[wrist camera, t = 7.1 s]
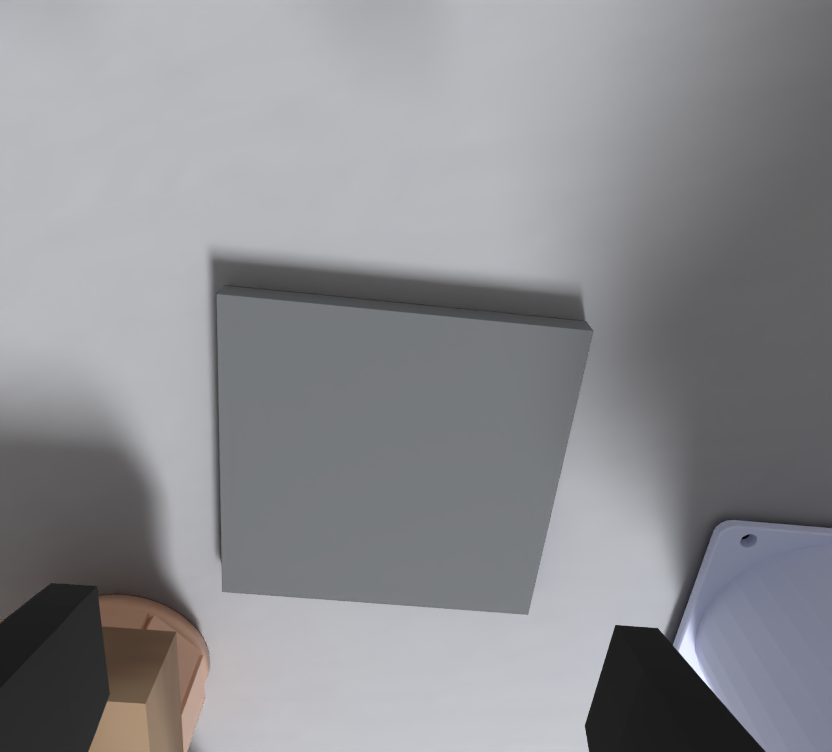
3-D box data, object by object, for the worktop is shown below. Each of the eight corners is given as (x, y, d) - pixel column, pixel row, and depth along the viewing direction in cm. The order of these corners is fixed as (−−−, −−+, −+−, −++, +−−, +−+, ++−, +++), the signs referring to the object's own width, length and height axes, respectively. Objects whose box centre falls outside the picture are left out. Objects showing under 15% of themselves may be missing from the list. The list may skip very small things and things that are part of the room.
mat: (585, 321, 18) (593, 330, 17) (523, 597, 22) (528, 614, 21) (224, 285, 18) (216, 294, 17) (228, 574, 22) (222, 591, 21)
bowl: (208, 600, 22) (179, 673, 19) (211, 715, 24) (186, 795, 22) (39, 588, 22) (-14, 660, 19) (59, 705, 24) (14, 785, 21)
